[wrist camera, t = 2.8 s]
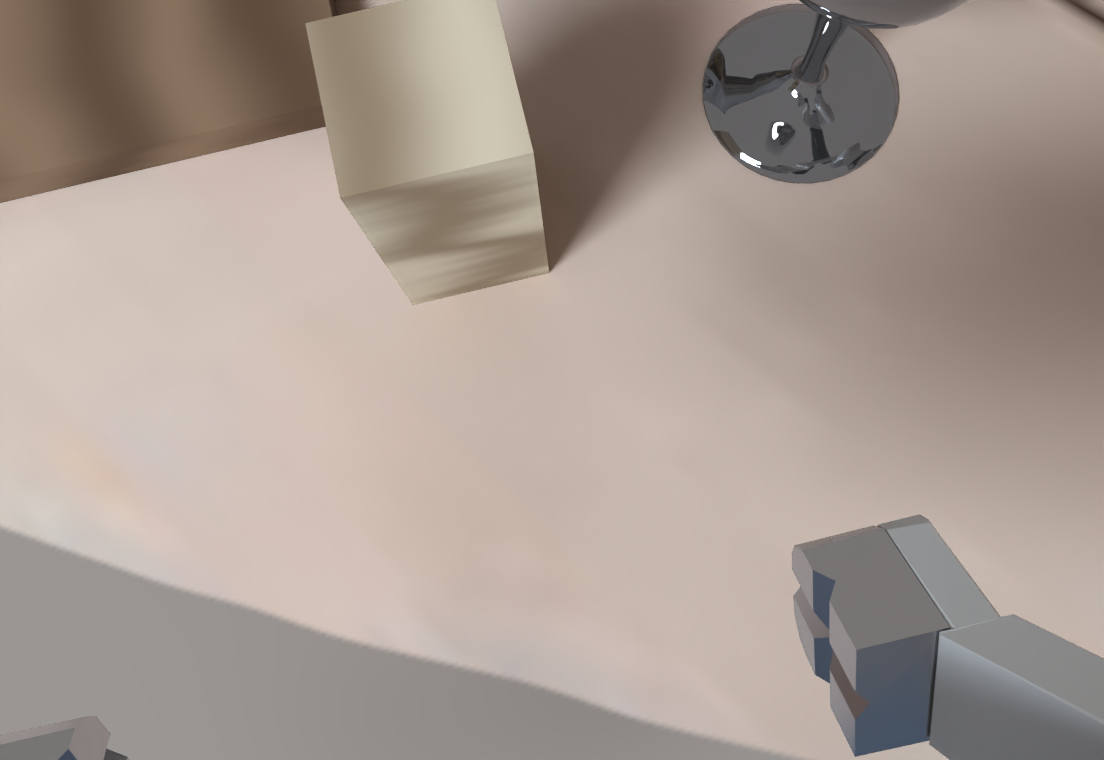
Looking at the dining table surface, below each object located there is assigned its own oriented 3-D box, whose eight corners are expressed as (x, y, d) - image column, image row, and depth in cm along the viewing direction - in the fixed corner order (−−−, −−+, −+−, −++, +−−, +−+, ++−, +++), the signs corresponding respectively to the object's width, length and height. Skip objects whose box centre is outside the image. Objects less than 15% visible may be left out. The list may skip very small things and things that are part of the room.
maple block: (518, 145, 35) (491, -21, 25) (549, 272, 34) (533, 152, 24) (385, 177, 34) (305, 23, 25) (412, 305, 33) (340, 198, 24)
